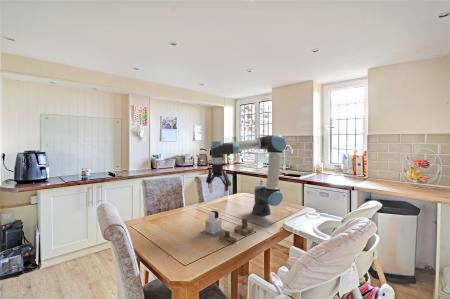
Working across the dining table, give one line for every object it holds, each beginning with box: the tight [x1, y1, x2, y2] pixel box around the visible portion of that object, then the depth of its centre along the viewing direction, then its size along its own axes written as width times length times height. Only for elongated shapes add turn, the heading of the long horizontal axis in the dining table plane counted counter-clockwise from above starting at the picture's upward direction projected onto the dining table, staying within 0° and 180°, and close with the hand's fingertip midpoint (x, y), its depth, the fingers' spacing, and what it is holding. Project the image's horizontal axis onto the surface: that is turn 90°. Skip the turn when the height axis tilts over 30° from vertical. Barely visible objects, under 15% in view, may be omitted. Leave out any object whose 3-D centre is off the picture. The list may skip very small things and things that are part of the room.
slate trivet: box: [200, 228, 227, 238], centre depth 140 cm, size 12×12×1 cm
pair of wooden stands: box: [218, 217, 254, 245], centre depth 135 cm, size 23×10×8 cm, turn 140°
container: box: [204, 210, 223, 234], centre depth 140 cm, size 8×8×13 cm
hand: (218, 194), depth 146 cm, fingers open, 13 cm apart
